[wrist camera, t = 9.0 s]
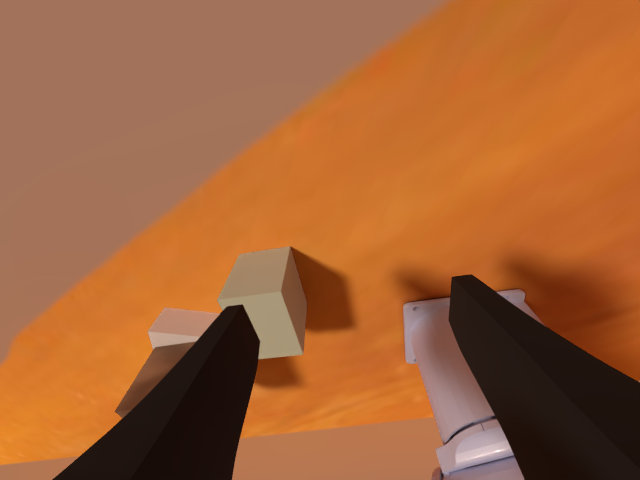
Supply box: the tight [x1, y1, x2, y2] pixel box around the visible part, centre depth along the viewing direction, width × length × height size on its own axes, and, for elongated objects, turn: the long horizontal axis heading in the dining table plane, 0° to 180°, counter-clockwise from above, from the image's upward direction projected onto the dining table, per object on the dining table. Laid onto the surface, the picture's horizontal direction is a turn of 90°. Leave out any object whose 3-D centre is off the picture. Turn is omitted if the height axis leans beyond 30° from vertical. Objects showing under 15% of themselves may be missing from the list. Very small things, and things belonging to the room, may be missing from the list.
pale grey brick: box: [148, 307, 220, 350], centre depth 25 cm, size 6×8×3 cm
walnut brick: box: [115, 342, 195, 418], centre depth 21 cm, size 4×6×5 cm, turn 13°
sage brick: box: [217, 246, 307, 359], centre depth 20 cm, size 4×6×5 cm, turn 11°
